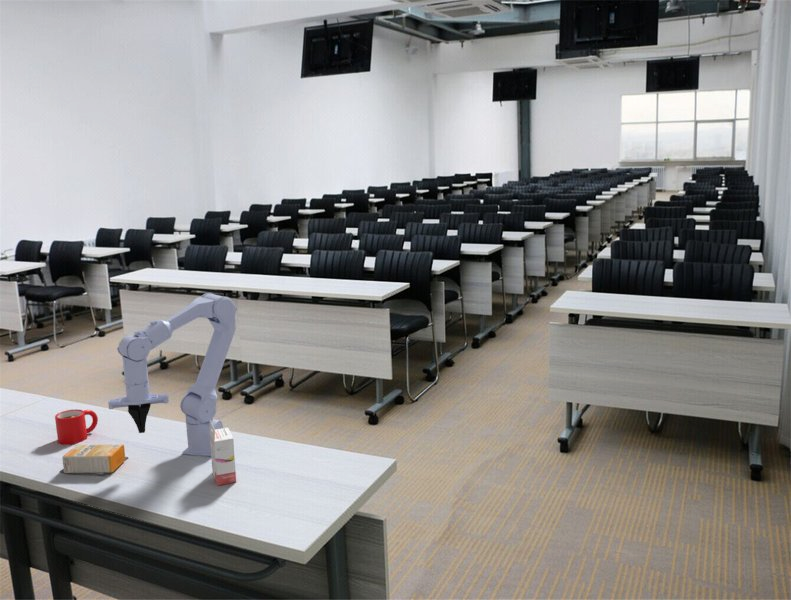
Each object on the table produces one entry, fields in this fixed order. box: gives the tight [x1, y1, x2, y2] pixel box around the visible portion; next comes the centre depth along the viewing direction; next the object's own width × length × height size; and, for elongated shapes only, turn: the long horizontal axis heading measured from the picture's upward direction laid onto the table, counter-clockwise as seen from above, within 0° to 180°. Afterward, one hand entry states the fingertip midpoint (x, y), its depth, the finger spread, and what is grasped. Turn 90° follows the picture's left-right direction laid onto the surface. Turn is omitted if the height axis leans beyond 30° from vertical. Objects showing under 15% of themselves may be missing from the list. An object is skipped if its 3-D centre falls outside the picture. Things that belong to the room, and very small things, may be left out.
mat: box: [59, 456, 129, 477], centre depth 186 cm, size 13×11×1 cm
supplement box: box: [62, 444, 126, 474], centre depth 184 cm, size 8×5×13 cm
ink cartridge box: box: [210, 420, 237, 486], centre depth 176 cm, size 9×5×15 cm, turn 23°
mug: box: [54, 409, 99, 446], centre depth 205 cm, size 8×12×8 cm, turn 144°
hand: (142, 431), depth 181 cm, fingers closed
